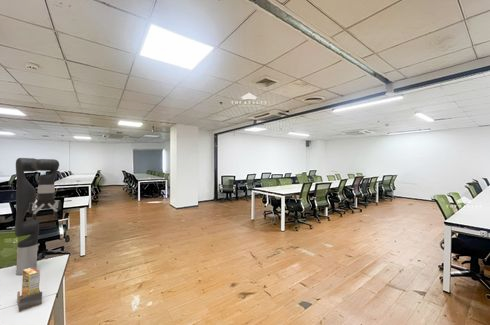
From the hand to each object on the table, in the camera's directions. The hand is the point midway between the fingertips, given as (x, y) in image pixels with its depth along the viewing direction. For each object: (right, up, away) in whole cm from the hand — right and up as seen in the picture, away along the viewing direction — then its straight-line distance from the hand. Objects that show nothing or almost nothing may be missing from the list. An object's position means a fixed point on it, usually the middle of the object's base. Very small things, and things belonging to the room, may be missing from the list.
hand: (45, 218), depth 126 cm
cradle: (+9, -38, -18) cm, 43 cm away
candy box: (+10, -37, -19) cm, 43 cm away
